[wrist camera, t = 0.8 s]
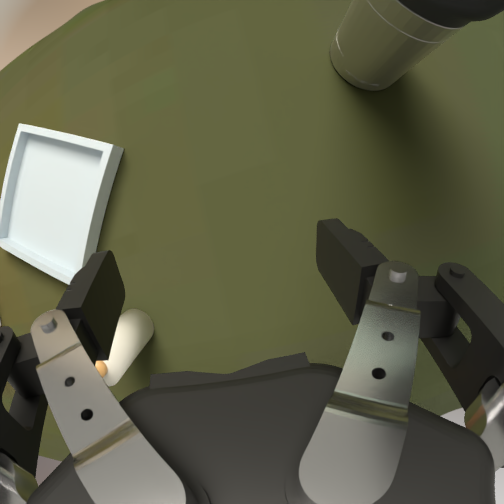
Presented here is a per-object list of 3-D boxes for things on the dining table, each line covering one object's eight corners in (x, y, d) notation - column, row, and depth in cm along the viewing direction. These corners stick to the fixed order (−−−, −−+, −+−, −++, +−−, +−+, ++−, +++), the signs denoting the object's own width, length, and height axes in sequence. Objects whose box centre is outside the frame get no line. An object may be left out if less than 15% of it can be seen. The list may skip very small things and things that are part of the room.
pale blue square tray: (31, 126, 32) (19, 123, 29) (124, 148, 33) (113, 144, 30) (7, 240, 35) (-6, 243, 32) (89, 283, 36) (78, 289, 33)
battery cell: (124, 303, 36) (77, 341, 24) (157, 316, 36) (119, 362, 24) (118, 333, 37) (75, 377, 25) (150, 347, 37) (114, 397, 25)
